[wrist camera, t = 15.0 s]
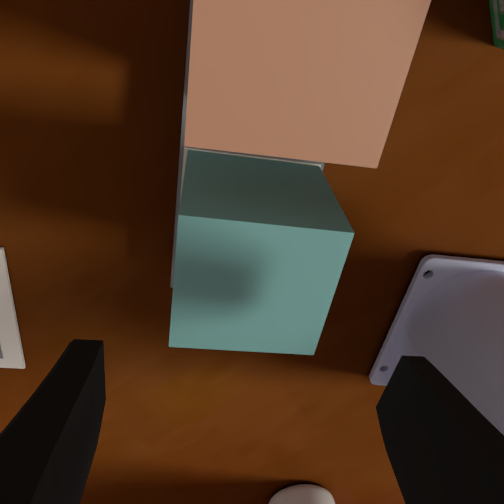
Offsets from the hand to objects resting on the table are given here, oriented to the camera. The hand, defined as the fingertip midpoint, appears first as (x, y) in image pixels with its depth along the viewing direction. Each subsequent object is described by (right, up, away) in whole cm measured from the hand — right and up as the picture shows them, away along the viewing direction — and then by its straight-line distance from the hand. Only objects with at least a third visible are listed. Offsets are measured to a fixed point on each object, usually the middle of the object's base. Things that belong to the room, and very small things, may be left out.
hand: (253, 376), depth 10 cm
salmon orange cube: (+1, +10, +3) cm, 11 cm away
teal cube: (0, +5, +7) cm, 8 cm away
